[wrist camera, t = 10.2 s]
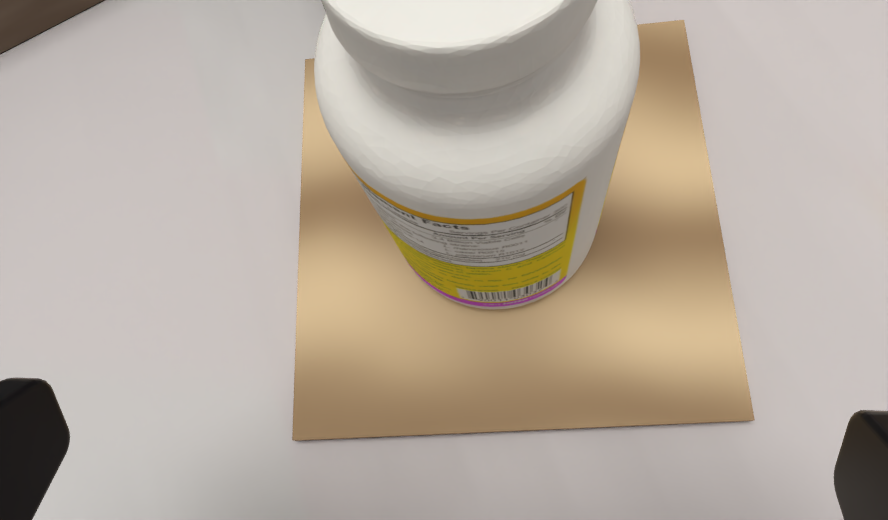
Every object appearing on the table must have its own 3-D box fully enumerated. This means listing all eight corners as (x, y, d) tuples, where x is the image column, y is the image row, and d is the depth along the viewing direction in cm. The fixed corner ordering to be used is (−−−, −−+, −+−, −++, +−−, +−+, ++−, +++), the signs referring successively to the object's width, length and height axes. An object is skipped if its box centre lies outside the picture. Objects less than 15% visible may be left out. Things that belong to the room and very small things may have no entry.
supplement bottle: (478, 98, 24) (427, -297, 11) (635, 198, 22) (775, -145, 10) (357, 239, 22) (159, -31, 10) (512, 357, 21) (493, 199, 8)
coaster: (750, 421, 20) (754, 420, 19) (296, 440, 21) (292, 440, 21) (681, 27, 24) (683, 19, 24) (308, 65, 25) (305, 59, 25)
